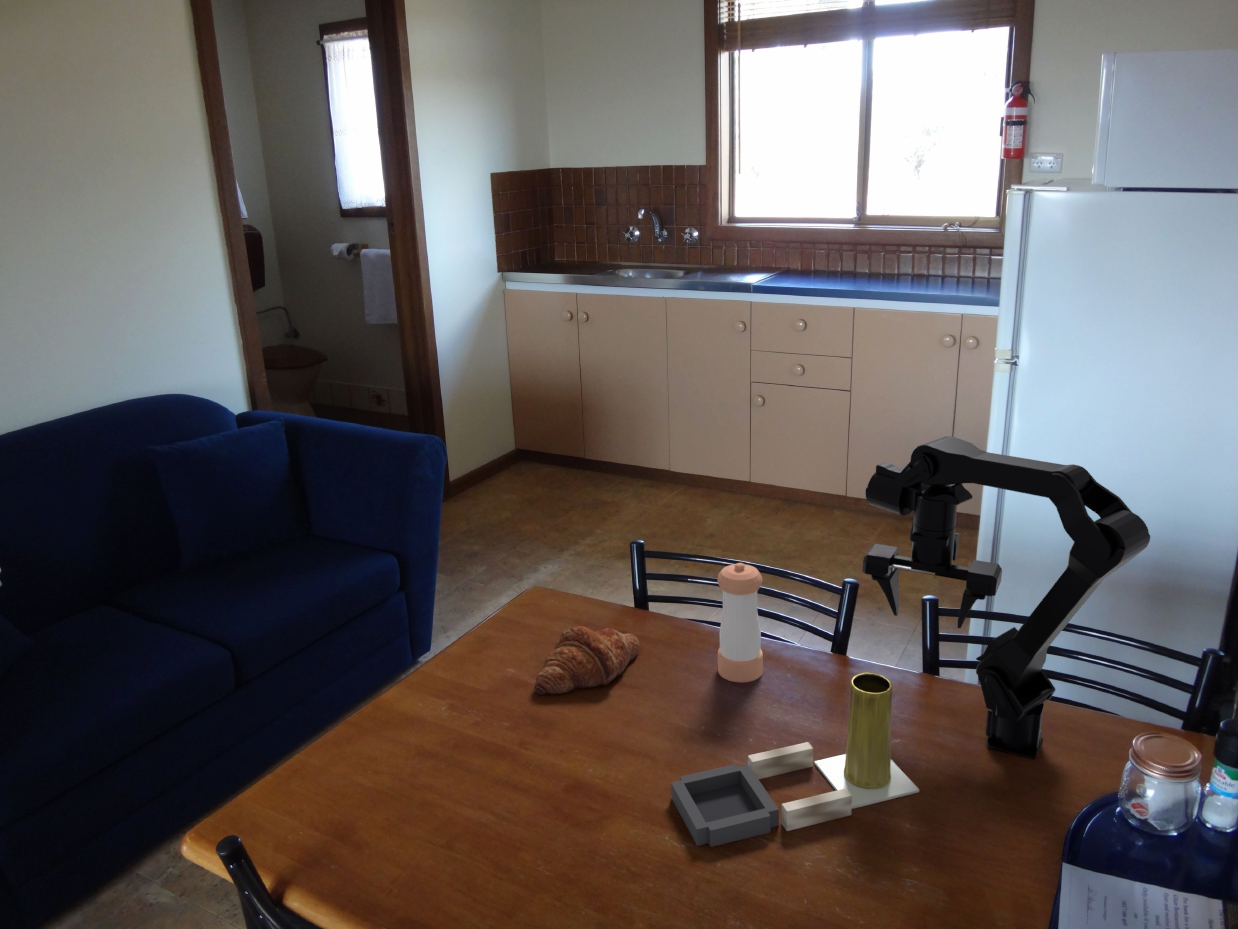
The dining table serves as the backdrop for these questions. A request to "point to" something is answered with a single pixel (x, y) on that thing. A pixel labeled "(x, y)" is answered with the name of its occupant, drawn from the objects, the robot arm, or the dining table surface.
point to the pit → (724, 805)
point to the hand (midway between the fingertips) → (927, 620)
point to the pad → (864, 796)
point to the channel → (807, 808)
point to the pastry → (585, 659)
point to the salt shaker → (740, 624)
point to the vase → (869, 731)
